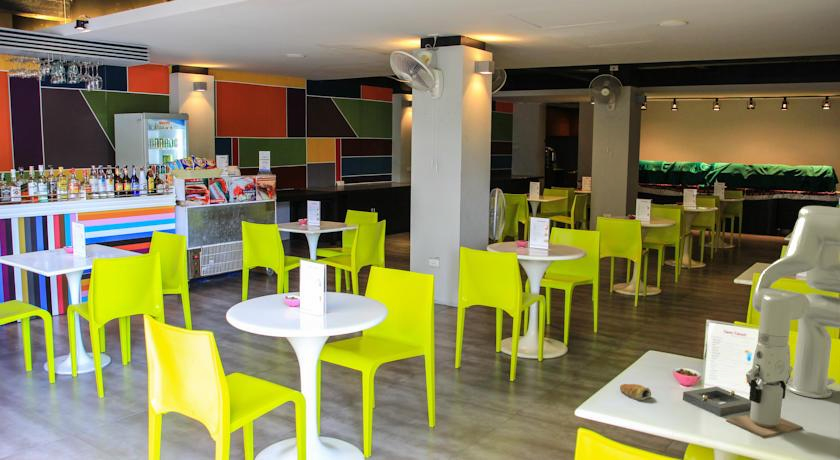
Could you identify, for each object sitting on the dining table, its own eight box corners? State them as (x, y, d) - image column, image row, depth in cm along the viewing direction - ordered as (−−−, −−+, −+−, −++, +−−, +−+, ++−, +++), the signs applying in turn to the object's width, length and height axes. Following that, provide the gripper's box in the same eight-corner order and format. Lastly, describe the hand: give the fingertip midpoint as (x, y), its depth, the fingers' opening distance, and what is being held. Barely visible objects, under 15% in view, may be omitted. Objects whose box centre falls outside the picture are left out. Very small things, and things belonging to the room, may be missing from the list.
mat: (765, 413, 209) (765, 411, 209) (802, 429, 199) (803, 427, 199) (726, 421, 202) (726, 419, 202) (762, 437, 192) (763, 435, 192)
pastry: (614, 392, 223) (615, 380, 222) (628, 389, 227) (629, 377, 226) (639, 402, 215) (640, 390, 215) (653, 398, 219) (654, 386, 219)
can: (753, 426, 198) (757, 384, 196) (746, 416, 205) (750, 375, 203) (782, 429, 196) (787, 387, 195) (774, 419, 204) (779, 378, 202)
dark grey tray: (715, 394, 224) (716, 383, 224) (754, 410, 212) (755, 398, 211) (682, 399, 218) (683, 388, 218) (720, 416, 206) (721, 404, 205)
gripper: (763, 346, 190) (756, 408, 193) (806, 340, 198) (800, 400, 200) (739, 338, 197) (733, 398, 199) (782, 333, 205) (776, 391, 207)
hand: (766, 399), depth 200 cm, fingers open, 9 cm apart
